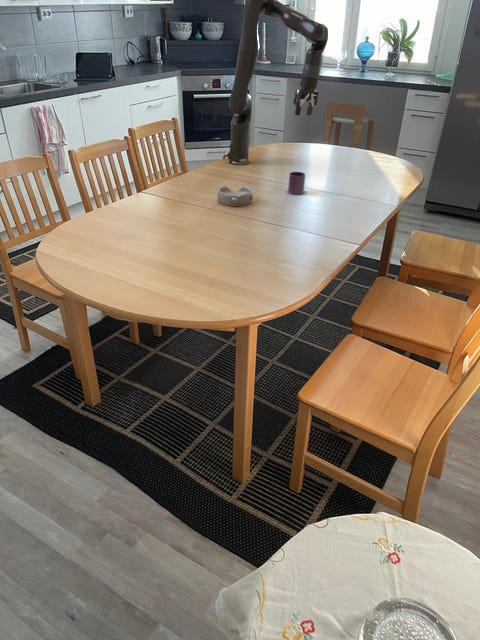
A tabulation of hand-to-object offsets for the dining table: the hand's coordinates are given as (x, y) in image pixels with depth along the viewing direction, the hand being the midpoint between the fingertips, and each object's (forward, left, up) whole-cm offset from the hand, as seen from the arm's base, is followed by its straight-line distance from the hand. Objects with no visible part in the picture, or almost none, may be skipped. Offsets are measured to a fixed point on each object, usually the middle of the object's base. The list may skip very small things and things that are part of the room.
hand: (303, 115), depth 224 cm
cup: (+1, -27, -27) cm, 38 cm away
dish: (-23, -45, -27) cm, 57 cm away
